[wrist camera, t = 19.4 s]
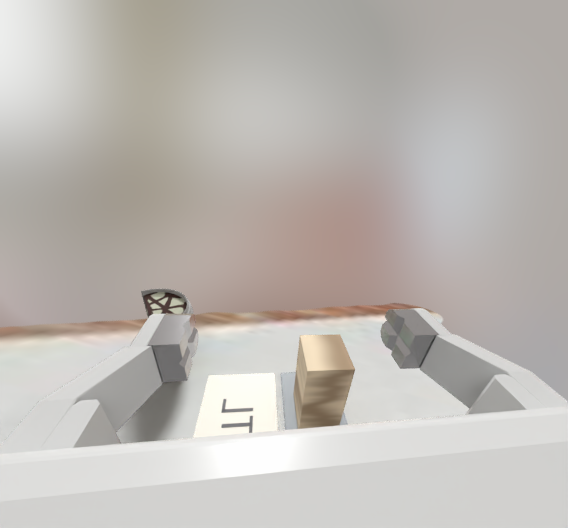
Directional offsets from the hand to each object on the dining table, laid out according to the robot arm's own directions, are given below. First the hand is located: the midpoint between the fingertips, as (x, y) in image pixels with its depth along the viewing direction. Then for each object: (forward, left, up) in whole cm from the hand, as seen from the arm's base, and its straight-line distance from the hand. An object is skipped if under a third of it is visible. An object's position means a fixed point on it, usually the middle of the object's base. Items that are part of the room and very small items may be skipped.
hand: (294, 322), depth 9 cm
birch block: (+6, +10, -24) cm, 27 cm away
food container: (-15, +21, -24) cm, 36 cm away
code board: (+1, +10, -24) cm, 26 cm away
